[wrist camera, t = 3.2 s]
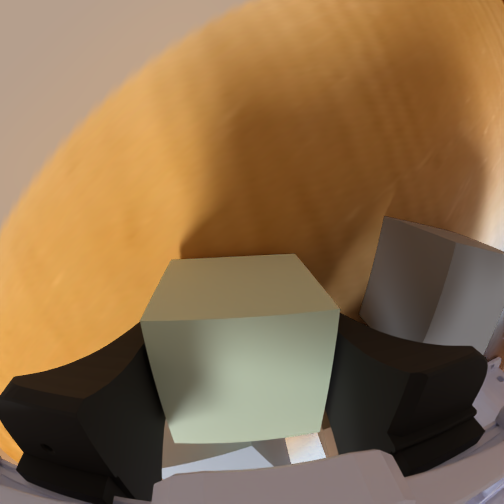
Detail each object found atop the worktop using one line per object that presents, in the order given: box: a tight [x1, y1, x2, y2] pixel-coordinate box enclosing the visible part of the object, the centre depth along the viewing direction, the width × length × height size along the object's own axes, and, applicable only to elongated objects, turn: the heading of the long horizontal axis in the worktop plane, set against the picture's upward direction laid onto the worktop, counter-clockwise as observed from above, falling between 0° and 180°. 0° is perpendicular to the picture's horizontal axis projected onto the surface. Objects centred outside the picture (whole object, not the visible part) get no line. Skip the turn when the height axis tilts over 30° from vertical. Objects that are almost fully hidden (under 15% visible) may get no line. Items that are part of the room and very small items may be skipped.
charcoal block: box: [359, 216, 504, 355], centre depth 11 cm, size 5×5×5 cm
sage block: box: [140, 254, 340, 443], centre depth 10 cm, size 5×5×5 cm
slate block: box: [162, 420, 291, 480], centre depth 12 cm, size 5×5×5 cm
